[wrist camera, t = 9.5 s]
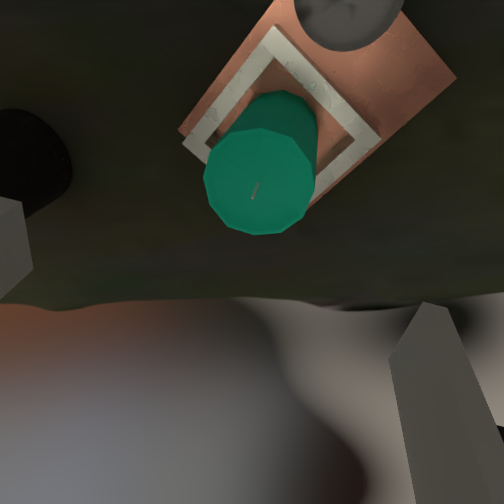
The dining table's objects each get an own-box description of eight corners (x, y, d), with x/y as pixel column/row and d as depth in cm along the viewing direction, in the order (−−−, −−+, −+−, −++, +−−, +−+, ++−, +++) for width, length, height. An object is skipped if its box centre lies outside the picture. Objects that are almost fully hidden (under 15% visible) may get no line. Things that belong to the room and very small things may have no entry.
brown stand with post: (183, 125, 31) (102, 190, 20) (330, -71, 23) (333, -147, 12) (288, 219, 34) (270, 322, 23) (450, 74, 26) (545, 124, 15)
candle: (286, 184, 31) (268, 268, 21) (224, 140, 29) (173, 207, 20) (335, 122, 27) (341, 187, 17) (268, 71, 26) (233, 108, 16)
